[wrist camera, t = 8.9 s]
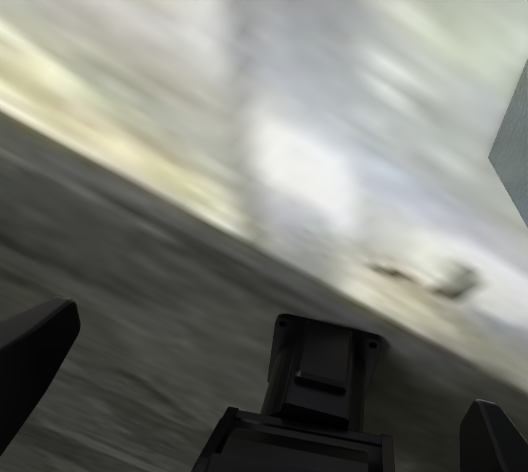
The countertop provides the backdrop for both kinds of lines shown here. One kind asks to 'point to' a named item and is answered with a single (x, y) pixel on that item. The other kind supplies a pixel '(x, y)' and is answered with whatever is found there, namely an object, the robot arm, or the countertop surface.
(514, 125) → the box
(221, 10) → the countertop surface
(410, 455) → the countertop surface
